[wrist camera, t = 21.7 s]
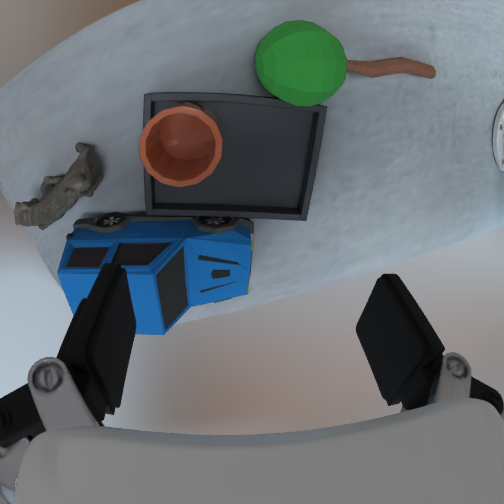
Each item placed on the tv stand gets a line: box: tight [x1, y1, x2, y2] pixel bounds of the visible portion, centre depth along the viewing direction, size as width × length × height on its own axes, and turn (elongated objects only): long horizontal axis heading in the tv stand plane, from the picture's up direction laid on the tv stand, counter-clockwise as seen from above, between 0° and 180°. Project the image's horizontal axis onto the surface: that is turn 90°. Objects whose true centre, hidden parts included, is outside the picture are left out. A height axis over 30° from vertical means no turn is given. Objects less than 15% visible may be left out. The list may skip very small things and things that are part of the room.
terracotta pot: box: [140, 101, 223, 187], centre depth 23 cm, size 6×6×6 cm
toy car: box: [57, 212, 254, 335], centre depth 29 cm, size 9×19×10 cm, turn 86°
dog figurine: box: [14, 143, 102, 230], centre depth 24 cm, size 12×6×7 cm, turn 114°
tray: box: [143, 92, 327, 221], centre depth 27 cm, size 16×12×2 cm
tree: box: [255, 20, 436, 107], centre depth 21 cm, size 8×8×20 cm
